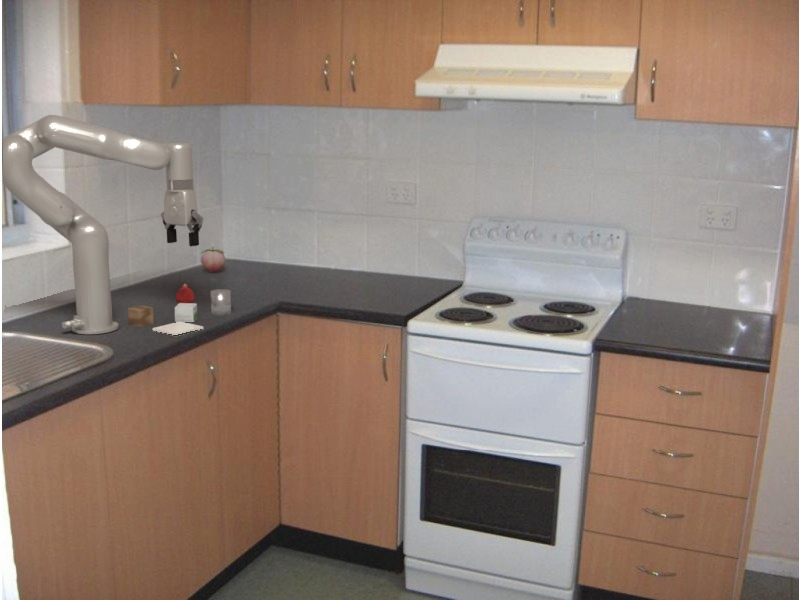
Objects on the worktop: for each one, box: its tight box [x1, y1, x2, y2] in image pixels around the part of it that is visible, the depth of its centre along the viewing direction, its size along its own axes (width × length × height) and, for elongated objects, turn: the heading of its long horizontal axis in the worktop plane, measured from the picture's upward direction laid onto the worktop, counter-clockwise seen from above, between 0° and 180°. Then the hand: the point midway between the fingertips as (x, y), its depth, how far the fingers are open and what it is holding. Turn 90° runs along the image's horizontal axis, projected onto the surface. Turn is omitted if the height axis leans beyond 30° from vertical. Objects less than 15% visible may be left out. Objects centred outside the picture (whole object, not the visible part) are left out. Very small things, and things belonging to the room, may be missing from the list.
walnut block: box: [127, 305, 155, 328], centre depth 257 cm, size 5×5×5 cm
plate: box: [152, 321, 204, 336], centre depth 251 cm, size 10×10×1 cm
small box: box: [174, 302, 198, 323], centre depth 262 cm, size 6×6×5 cm
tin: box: [210, 288, 232, 316], centre depth 271 cm, size 6×6×7 cm
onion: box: [175, 283, 196, 305], centre depth 276 cm, size 6×6×8 cm
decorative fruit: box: [200, 246, 226, 273], centre depth 337 cm, size 9×8×10 cm
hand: (183, 244), depth 257 cm, fingers open, 9 cm apart
